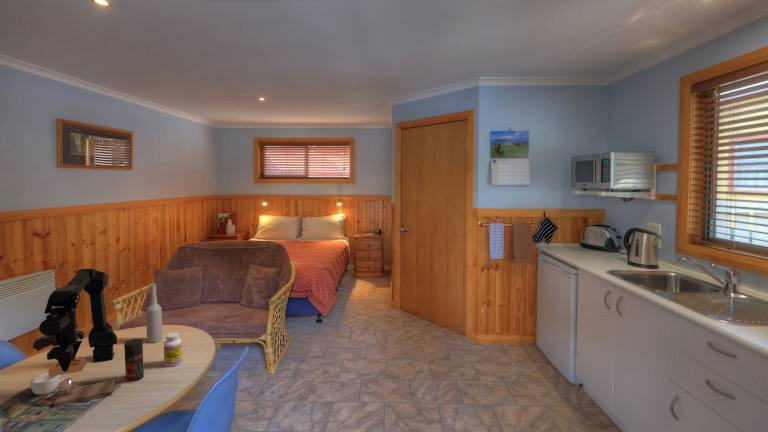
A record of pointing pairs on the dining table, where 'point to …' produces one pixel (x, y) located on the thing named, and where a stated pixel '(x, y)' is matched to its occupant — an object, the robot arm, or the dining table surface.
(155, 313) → the bottle
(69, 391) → the keeper peg
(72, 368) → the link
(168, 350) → the supplement bottle
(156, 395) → the dining table surface
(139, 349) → the deodorant
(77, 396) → the board
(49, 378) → the teacup
